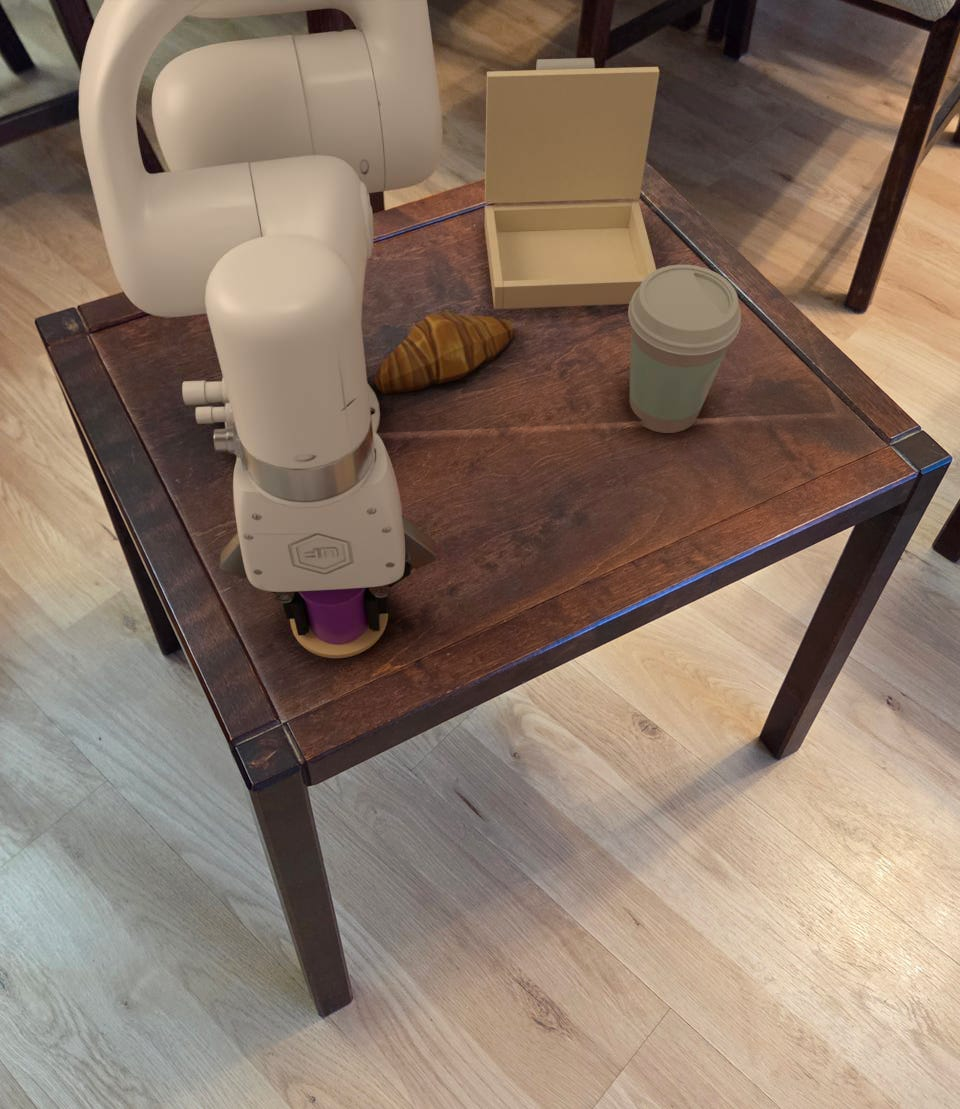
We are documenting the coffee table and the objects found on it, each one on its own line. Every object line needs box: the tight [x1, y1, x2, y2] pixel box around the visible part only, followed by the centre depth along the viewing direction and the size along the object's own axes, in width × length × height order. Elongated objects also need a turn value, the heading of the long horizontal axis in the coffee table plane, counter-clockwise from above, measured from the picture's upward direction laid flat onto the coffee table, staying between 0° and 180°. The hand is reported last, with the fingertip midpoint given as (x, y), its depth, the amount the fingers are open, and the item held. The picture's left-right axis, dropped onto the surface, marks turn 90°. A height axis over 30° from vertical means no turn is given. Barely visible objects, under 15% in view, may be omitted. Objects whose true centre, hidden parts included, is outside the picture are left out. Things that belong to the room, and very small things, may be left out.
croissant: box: [373, 311, 516, 395], centre depth 89 cm, size 14×7×5 cm, turn 122°
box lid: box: [484, 57, 660, 205], centre depth 95 cm, size 12×15×6 cm
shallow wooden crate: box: [484, 199, 657, 310], centre depth 97 cm, size 12×15×3 cm
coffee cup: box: [627, 264, 742, 434], centre depth 84 cm, size 9×8×12 cm
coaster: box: [289, 614, 389, 659], centre depth 76 cm, size 7×7×1 cm
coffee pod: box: [298, 587, 369, 644], centre depth 73 cm, size 5×5×6 cm
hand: (339, 614), depth 75 cm, fingers closed on coffee pod, 4 cm apart
